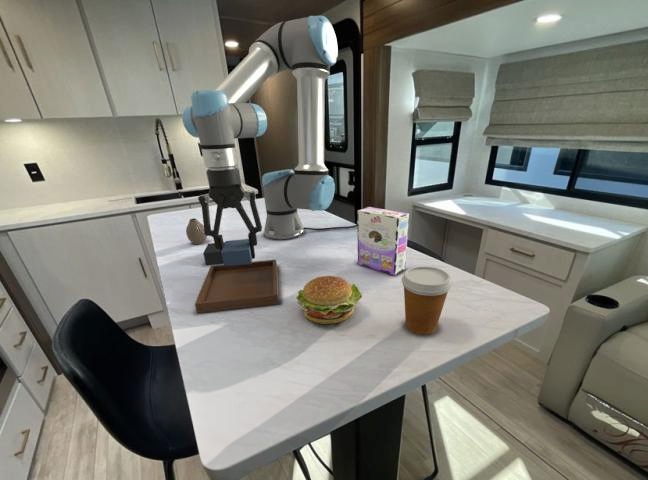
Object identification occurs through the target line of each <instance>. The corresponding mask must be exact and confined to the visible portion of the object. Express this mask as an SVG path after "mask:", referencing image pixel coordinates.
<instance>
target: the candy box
mask: <svg viewBox="0 0 648 480" xmlns="http://www.w3.org/2000/svg"><path fill="white" fill-rule="evenodd" d="M356 212H357V213H356V214H357V215H356V216H357V218H356V219H357V220H356V223H357V224H356V225H357V229H356V230H357V235H356V236H357V264H358V265H360V266H363V267H366V268H371V269H373V270H377V271H379V272H383V273H387V274H389V275H393V276H396V275H397V274H399V273H401V272H403V271H404V270H405V269H406V259H407V248H408V238H409V237H408V236H409V234H408V233H409V222H410V213H408V212H401V211H395V210H390V209H384V208H378V207H373V206H367V207H364V208H361V209H358V210H357V211H356Z"/></svg>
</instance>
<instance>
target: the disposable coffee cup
mask: <svg viewBox="0 0 648 480" xmlns="http://www.w3.org/2000/svg"><path fill="white" fill-rule="evenodd" d="M401 283H402V286H403V295H404V296H403V297H404V298H403V299H404V315H405V316H404V318H405V327H406V329H407V330H408V331H409V332H411V333H413V334H416V335H421V336H428V335H431V334H433V333H435V332H436V330H437V328H438V324H439V322H440V317H441V314H442V312H443V308H444V306H445V302H446V299H447V295H448V292H449V291H450V289H451V288H452V287H453V282H452V278H451V275H450V274H449V272H448V271H446V270H445V269H441V268H439V267H434V266H428V265H427V266H426V265H422V266H421V265H418V266H413V267H410V268H408V269H406V270H405V272H404V274H403V276H402V277H401Z"/></svg>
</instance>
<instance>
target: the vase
mask: <svg viewBox="0 0 648 480" xmlns="http://www.w3.org/2000/svg"><path fill="white" fill-rule="evenodd" d="M185 233H186V234H185V235H186V237H187V239H188V241H189V242H190V243H192V244H193V245H201V244H204V243H205V242H206V241H207V237H208V236H206V235H205V233H204V224H202V223H201V222H200V221H199V220H198V218H195V217H194V218H190V219H189V221H188V224H187V225H186V227H185Z"/></svg>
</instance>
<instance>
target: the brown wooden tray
mask: <svg viewBox="0 0 648 480" xmlns="http://www.w3.org/2000/svg"><path fill="white" fill-rule="evenodd" d="M209 266H210V267H209V269H208V271H207V274H206V276H205V278H204V281H203V283H202V286H201V288H200V290H199V293H198V296H197V298H196V301H195V303H194V306H195V310H196V313H197V314H204V313H213V312H221V311H229V310H238V309H239V310H240V309H246V308H257V307H265V306H272V305H273V306H274V305H279V304H280V303H279V301H280V300H279V280H278V279H279V278H278V276H279V275H278V264H277V259H266V260H255V261H252V264H245V265H234V266H224V263H223V264H212V265H209Z"/></svg>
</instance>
